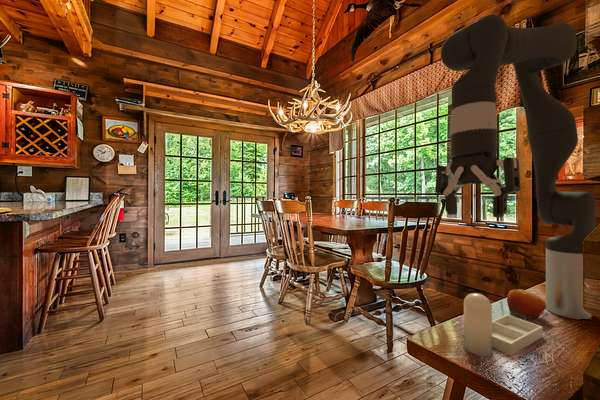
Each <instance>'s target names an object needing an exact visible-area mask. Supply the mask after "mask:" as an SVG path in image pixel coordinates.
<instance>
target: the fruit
mask: <svg viewBox="0 0 600 400" xmlns="http://www.w3.org/2000/svg"><path fill="white" fill-rule="evenodd" d="M506 303H507V306H508V307H507V308H508V310H509V314H510V315H511V314H514V315H518V316H520V317H521V318H522V319H523V320H524V321H526V319H537V318H538V317H540V315H541V314H543V312H544V311H545V310H546V301H545V300H543V299H542V298H541V297H540V296H539V295H537V294H534V293H532V292H530V291H527V290H525V289H521V288H519V289H511V290H509V292H508V293H507V296H506Z"/></svg>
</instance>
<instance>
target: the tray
mask: <svg viewBox="0 0 600 400" xmlns="http://www.w3.org/2000/svg"><path fill="white" fill-rule="evenodd" d="M543 329H544V328H543V326H542V325H538V324H536V323H533V322H530V321H528V320H525V321H524V319H521V318H519V317H515V316H513V315H511V314H510V315H509V314H505V315H502V316H500V317H498V318H496V319H494V320H493V319H492V349H493V348H494V349H496V350H497V351H500V352H503V353H505V354H507V355H509V356H512V355H514V354H516V353H518V352H520V351H521V350H522V349H524V348H527V347H528V346H530V345H532V344H533V343H534V342H537V341H538V340H540V339H542V338H543V337H544V336H543V332H544V330H543Z"/></svg>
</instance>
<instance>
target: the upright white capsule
mask: <svg viewBox="0 0 600 400" xmlns="http://www.w3.org/2000/svg"><path fill="white" fill-rule="evenodd" d="M492 309H493V308H492V302H491V301H490V300H489V298H488V297H486V296H485V295H483V294H481V293H477V292H473V293H469V294H467V295H466V297H465V298H464V300H463V347H464V349H465V350H466V351H468V352H469V353H471V354H473V355H476V356H480V357H490V356H492V355H493V347H492V321H493V310H492Z"/></svg>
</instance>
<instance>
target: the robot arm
mask: <svg viewBox="0 0 600 400" xmlns="http://www.w3.org/2000/svg"><path fill="white" fill-rule="evenodd" d="M577 46H578V38H577V32H576V31H575V29H574V27H573V26H572V24H569V23H567V22H560V23H559V22H558V23H555V24H552V25H546V26H545V25H544V26H538V27H537V26H536V27H515V26H507V24H506V21H505V20H504V19H503V17H501V16H499V15H498V14H494V13H492V14H488V15H485V16H483V17H481V18H479V19H477V20H476V21H474V22H472V23H470V24H468V25H466V26H465V27H463V28H461V29H459V30H458V31H455V32H454V33H452V34H450V35H449V36H448V37H447V38H446V39H445V40H444V42H443V44H442V46H441V49H440V60H441V61H442V63H443V65H444V66H445V67H446V68H447V69H449V70H451V71H454V72H461V71H463V72H464V71H466V73H464V74H462V75H461V76H460V77H458V78H457V79H456V80H455V81H454V82H453V83H452V86H451V115H450V126H449V127H450V129H449V131H450V157H451V164H450V165H446V164H440V165H437V166H436V173H435V193H436V194H441V195H443V196H444V200H445V201H444V203H445V204H444V206H445V207H444V208H445V209H444V210H445V212H447V215H449V216H450V215H451V216H452V215H453V216H454V215H457V214H458V196H456V195H457V193H458V192H459V191H460V190H461V188H463V187H464V186H465V185H474V184H475V185H484V186H485V187H486V188H488V189H489V191H491V193H492V194H494V196H492V216H493V218H503V217H504V215H506V214H507V212H508V196H509V195H511V194H513V193H517V192H520V191H521V177H520V165H519V164H520V163H519V159H518V158H517V157H513V156H510V157H509V156H506V157H504V158H502V159H498V156H497V154H498V113H497V107H496V82H497V78H498V77H497V76H498V74H499V69H500V66H507V65H508V66H509V65H513V69H514V73H515V76H516V81H517V84H518V88H519V93H520V95H521V99H522V103H523V109H524V115H525V123H526V129H527V136H528V142H529V143H528V144H529V148H530V153H531V157H532V162H533V168H534V174H535V186H536V187H535V188H536V202H537V203H536V204H537V211H538V215H539V218H540V219H541V221H542V222H543V223H545V224H549V225H558V226H571V227H573V229H572V231H571V232H568V233H567V234H564V235H558V236H551V237H548V238H547V239H546V240H545V304H546V308H545V310H547V311H549V312H551V313H552V314H554V315H558V316H561V317H564V318H569V319H572V320H573V319H574V320H580V319H589V318H590V317H591V314H590V313H588V312H586V311H585V310H584V308H583V241H584V239H585V238H586V237H587V236H588V235H589V234H590V233H591V232H592V231H593V230H594V229H595V230H596V218H597V201H596V197H595V196H594V194H593V193H592V192H589V191H557V189H556V181H557V177H558V175H559V173H560V172H561V170H562V169H563V167H564V166H565V164H566V163H567V162H568V160H569V159H570V157H571V156H572V154H573V153H574V151H575V149H576V148H577V146H578V144H579V143H578V142H579V137H578V136H579V135H578V128H577V127H578V126H577V122H576V118H575V115H574V114H573V112H572V111H571V110H570V109H569V108H568V107H566V105H564V104H563V103H561V102H560V101H558V100H557V99H556V98H555V97H553V96H552V95H551V94H550V93H549V92H548V91H547V90H546V89H545V87H544V86H543V84H542V82H541V80H540V77H539V72H542V71H544V70H547V69H551V68H554V67H556V66H559V65H562V64H564V63H565V62H568V61H569V60H570V59H572V57H573V56H574V55H575V53H576V50H577ZM499 167H500V170H501V171H503V176H504V185H503V183H502V180H501V179H500V178H499V177H498V176H497V174H495V173H496V172H497V170H498V169H499ZM451 173H452V175H453V176H452V177H451V178H450V180H449V176H450V174H451Z"/></svg>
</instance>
